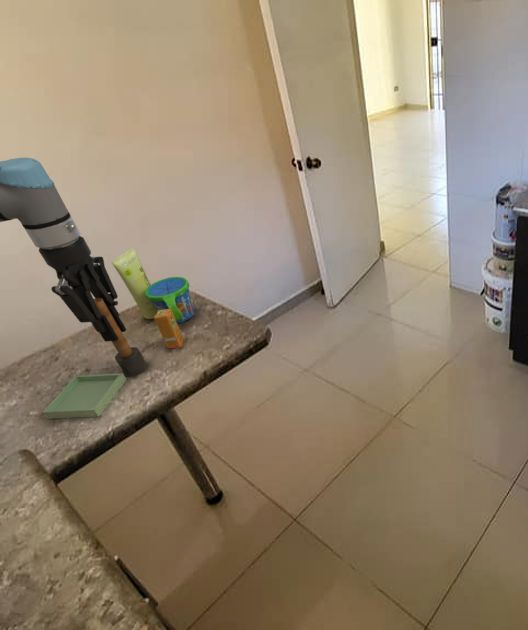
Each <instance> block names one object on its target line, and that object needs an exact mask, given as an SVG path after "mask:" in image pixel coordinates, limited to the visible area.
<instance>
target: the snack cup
mask: <svg viewBox="0 0 528 630" xmlns="http://www.w3.org/2000/svg"><path fill="white" fill-rule="evenodd" d="M145 294H146V297H147V298H148V299H149V300H150V301H151V302H152V303H153V305H154V306H155V307H156V309H157V310H164V309H171V310H172V313H173V315H174V317H175V320H176V322H177V324H182V323H184V322H186V321H188V320H189V319H191V318H192V317H193V316H194V315H195V308H194V304H193V299H192V295H191V291H190V283H189V281H188V279H187V278H185V277H183V276H172V277H171V276H170V277H166V278H163V279H159V280H157V281H155V282H153V283H151V285H150V286H149V287H148V288H147V289H146V291H145Z"/></svg>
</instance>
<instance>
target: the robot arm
mask: <svg viewBox="0 0 528 630" xmlns="http://www.w3.org/2000/svg"><path fill="white" fill-rule="evenodd" d="M12 220H18V221H19V222H20V224H21V226H22V227H23V229H24V230H25V232H26V233H27V235H28V237H29V238H30V240H31V241H32V243H33V245H34V246H35V247H36V248H38V253H39V254H40V255H41V257H42V258H43V260H44V262H45V263H46V265H47V266H48V267H50V268H51V269H53V270H54V271H55V274H56V277H57V279H58V283H57V285H53V286H52V287H51V292H52V293H53V294H55V295H57V296H58V297H59V298H60V299H61V300H62V301H63V303H64V304H65V305H66V306H67V308H68V309H69V310H70V312H72V314H73V316H75V318H76V319H77V321H79V323H82V324H83V323H91V325H92V326H93V328H94V329H95V331H96V332H97V333H99V335H100V336H101V338H102V340H103V341H104V342H112V341H117V340H118V339H119V338H118V337H117V335H116V333H115V332H114V330H113V328H112V327H111V325H110V323H109V322H108V320H107V318H106V316H101V314H100V312H99V310H98V308H97V305H96V303H95V301H94V299H95V298H102V299H103V301H104V303H105V304H106V306H107V308H108V309H109V311H110V313H111V315H112V316H113V318H114V320H115V322H116V323H117V325H118V327H119V328H120V330H121V332H122V333H125V332H126V331H127V328H126V325H124V323H123V321H122V319H121V317H120V314H119V311H118V309H117V308H116V307H117V306H118V305H119V302H118V300H117V299H118V296H119V295H118V294H117V291H116V289H115V287H114V283H113V282H112V280H111V278H110V275H109V273H108V271H107V269H106V267H105V261H104V257H103V256H91V255H92V250H91V249H90V247H89V244H87V241H86V239H85V238H84V237H83V236H81V234H82V233H81V231H80V230H79V228H78V226H77V225H76V223H75V221H74V219H73V217H72V216H71V213H70V212H69V210H68V208H67V206H66V204H65V202H64V201H63V198H62V197H61V195H60V193H59V191H58V189H57V187H56V185H55V182H54V181H53V180H52V179H51V177H50V176H49V174H48V172H47V171H46V169H45V168H44V166H43V165H42V163H41V162H40V161H39V160H37V159H35V158H32V157H16V158H9V159H6V160H1V161H0V223H2V222H7V221H12Z"/></svg>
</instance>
